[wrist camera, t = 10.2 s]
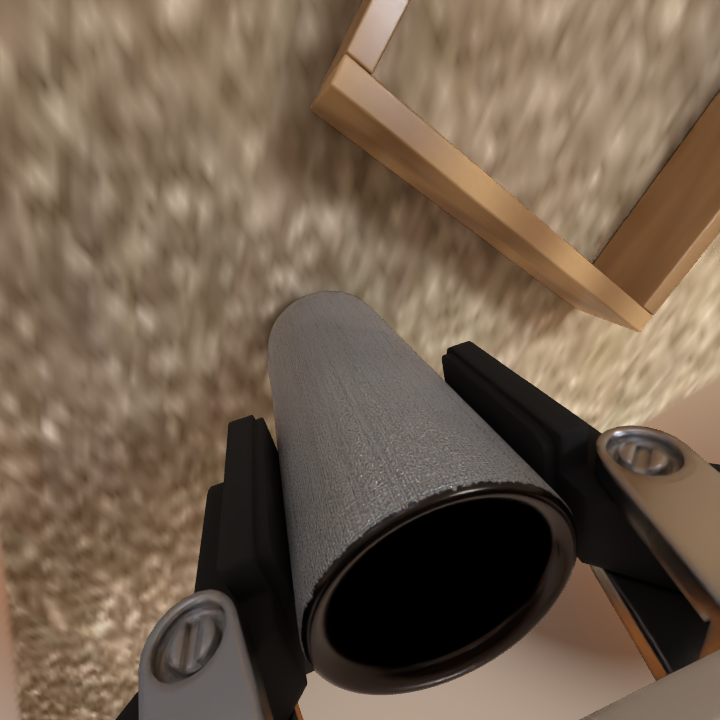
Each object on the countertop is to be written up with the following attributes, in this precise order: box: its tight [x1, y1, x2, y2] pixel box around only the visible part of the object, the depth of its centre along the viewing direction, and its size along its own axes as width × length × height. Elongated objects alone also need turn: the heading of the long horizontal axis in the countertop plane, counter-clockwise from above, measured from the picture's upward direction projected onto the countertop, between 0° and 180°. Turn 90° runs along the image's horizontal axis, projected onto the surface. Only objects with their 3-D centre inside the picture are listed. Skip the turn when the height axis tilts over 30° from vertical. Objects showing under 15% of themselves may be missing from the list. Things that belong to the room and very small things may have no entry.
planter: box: [268, 291, 578, 695], centre depth 10 cm, size 4×4×10 cm
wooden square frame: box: [311, 0, 720, 332], centre depth 12 cm, size 15×15×4 cm
